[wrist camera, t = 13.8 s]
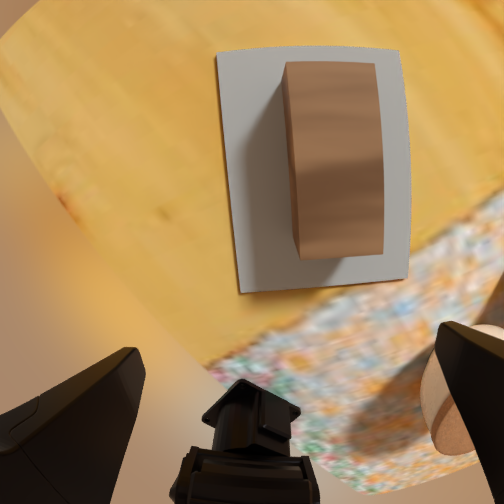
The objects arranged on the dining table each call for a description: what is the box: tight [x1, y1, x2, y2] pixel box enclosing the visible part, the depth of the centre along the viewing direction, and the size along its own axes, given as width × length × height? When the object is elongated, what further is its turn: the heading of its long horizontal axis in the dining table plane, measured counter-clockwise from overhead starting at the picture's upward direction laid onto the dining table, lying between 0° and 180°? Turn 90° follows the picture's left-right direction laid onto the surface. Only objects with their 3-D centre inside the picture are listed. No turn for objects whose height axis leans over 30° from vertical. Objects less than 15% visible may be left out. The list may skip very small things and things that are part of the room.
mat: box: [217, 46, 411, 293], centre depth 19 cm, size 16×12×1 cm
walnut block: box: [281, 61, 384, 261], centre depth 17 cm, size 4×4×10 cm
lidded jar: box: [420, 324, 504, 455], centre depth 19 cm, size 11×11×9 cm
